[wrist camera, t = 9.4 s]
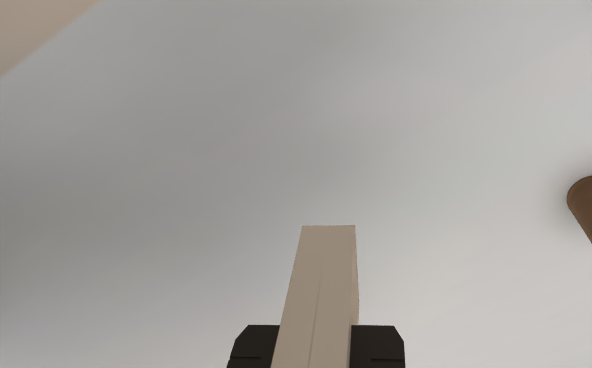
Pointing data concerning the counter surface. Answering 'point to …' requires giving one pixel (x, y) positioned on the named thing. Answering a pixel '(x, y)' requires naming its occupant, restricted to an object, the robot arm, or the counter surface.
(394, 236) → the counter surface
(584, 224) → the post
